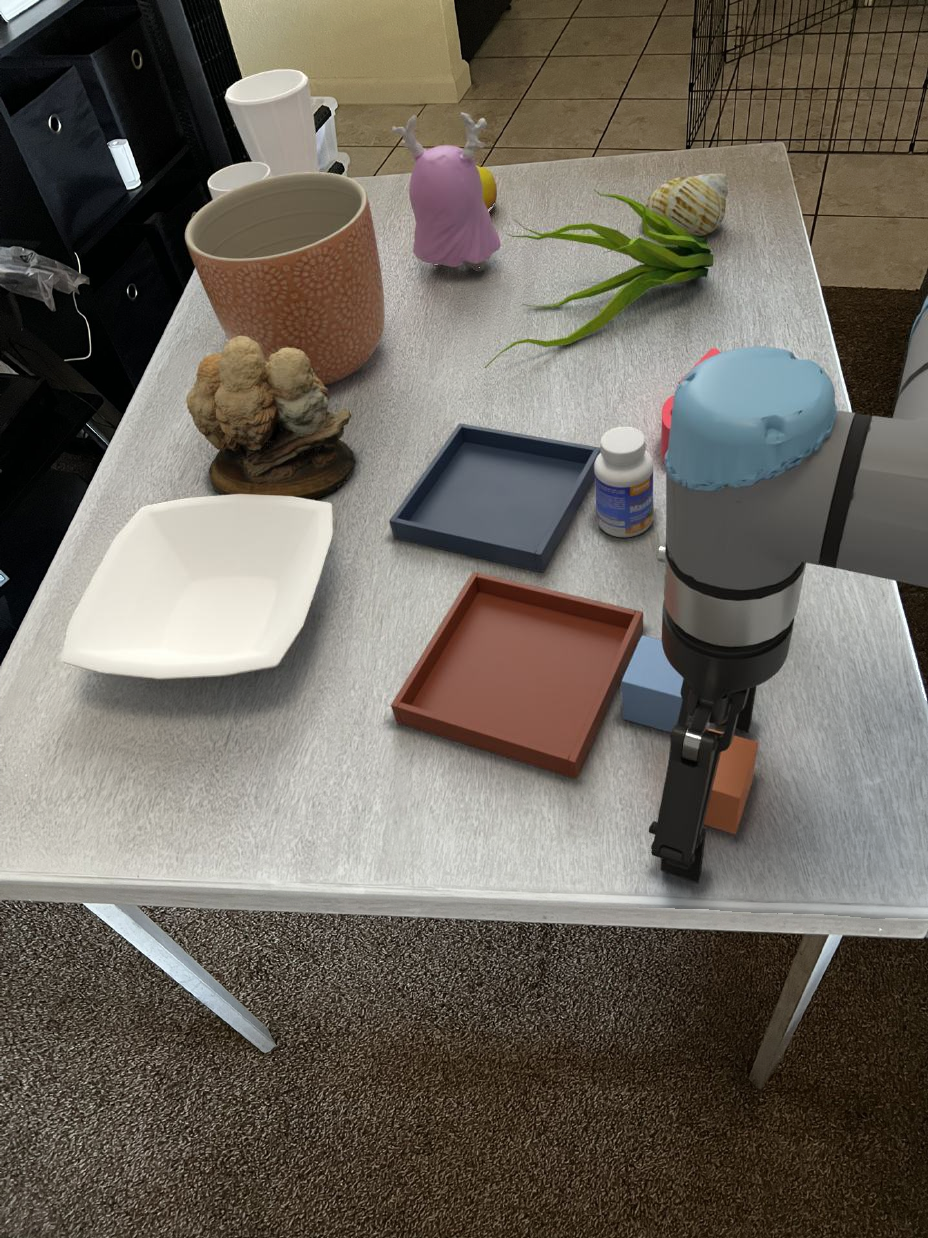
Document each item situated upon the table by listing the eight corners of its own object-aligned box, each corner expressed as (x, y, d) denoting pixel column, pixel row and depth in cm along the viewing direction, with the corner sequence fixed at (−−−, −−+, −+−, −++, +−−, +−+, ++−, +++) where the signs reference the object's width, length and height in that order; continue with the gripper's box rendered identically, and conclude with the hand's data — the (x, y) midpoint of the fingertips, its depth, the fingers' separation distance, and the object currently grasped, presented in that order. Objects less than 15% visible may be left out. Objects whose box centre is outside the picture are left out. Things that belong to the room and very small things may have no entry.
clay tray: (643, 630, 83) (643, 611, 81) (576, 779, 74) (575, 762, 72) (476, 588, 89) (472, 570, 87) (396, 722, 80) (390, 705, 78)
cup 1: (262, 312, 130) (224, 196, 118) (236, 292, 135) (197, 178, 123) (313, 288, 132) (281, 172, 120) (285, 269, 137) (252, 155, 125)
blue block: (700, 688, 78) (703, 649, 74) (682, 736, 75) (684, 698, 71) (641, 673, 80) (641, 634, 76) (622, 719, 77) (621, 681, 73)
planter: (227, 421, 113) (168, 273, 99) (248, 328, 127) (199, 186, 113) (398, 397, 112) (363, 243, 98) (401, 305, 126) (370, 159, 112)
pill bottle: (638, 545, 90) (638, 464, 83) (587, 530, 92) (582, 450, 85) (662, 509, 93) (663, 428, 85) (611, 495, 95) (609, 415, 88)
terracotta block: (753, 779, 72) (758, 741, 68) (735, 835, 69) (740, 799, 65) (687, 760, 74) (690, 722, 70) (668, 813, 71) (669, 777, 67)
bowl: (68, 713, 86) (39, 674, 82) (157, 535, 101) (136, 494, 97) (303, 721, 81) (285, 680, 77) (360, 533, 97) (347, 490, 92)
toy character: (515, 251, 131) (499, 96, 116) (485, 290, 125) (464, 132, 111) (437, 244, 136) (412, 94, 121) (404, 281, 130) (374, 129, 115)
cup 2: (301, 217, 148) (259, 66, 132) (360, 226, 143) (324, 70, 127) (255, 253, 142) (206, 99, 126) (315, 264, 137) (272, 105, 121)
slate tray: (602, 465, 98) (601, 447, 96) (542, 573, 89) (540, 554, 87) (462, 440, 104) (459, 422, 103) (393, 538, 95) (388, 520, 94)
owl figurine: (377, 437, 107) (341, 299, 94) (350, 508, 99) (307, 368, 87) (230, 437, 111) (177, 305, 98) (194, 505, 103) (131, 371, 91)
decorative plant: (474, 304, 124) (457, 191, 113) (703, 265, 122) (708, 146, 111) (486, 381, 111) (468, 263, 101) (740, 339, 110) (750, 214, 99)
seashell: (626, 218, 131) (658, 143, 125) (686, 236, 135) (719, 163, 129) (651, 247, 124) (686, 169, 118) (713, 265, 127) (750, 190, 121)
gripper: (722, 460, 64) (705, 658, 80) (593, 754, 50) (603, 924, 66) (838, 480, 61) (797, 682, 77) (736, 798, 47) (711, 965, 63)
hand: (707, 794), depth 71 cm, fingers open, 13 cm apart
